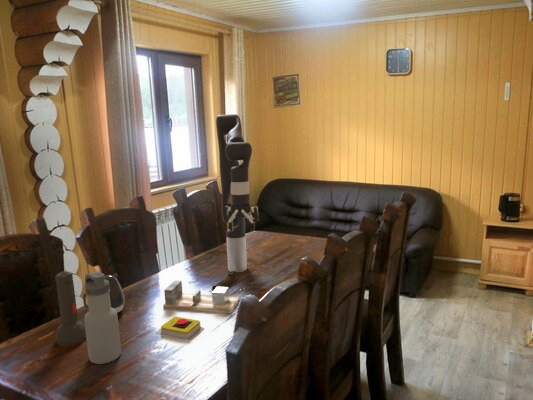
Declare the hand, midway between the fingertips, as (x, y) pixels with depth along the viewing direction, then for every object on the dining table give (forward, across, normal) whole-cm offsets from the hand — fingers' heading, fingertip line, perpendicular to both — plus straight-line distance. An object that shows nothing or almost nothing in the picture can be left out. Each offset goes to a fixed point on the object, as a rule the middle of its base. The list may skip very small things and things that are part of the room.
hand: (242, 231), depth 178 cm
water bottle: (+28, +32, +53) cm, 68 cm away
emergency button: (+29, +15, +33) cm, 46 cm away
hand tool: (+29, +12, -9) cm, 32 cm away
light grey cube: (+26, +7, +11) cm, 29 cm away
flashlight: (+28, +50, +45) cm, 73 cm away
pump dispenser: (+28, +48, +23) cm, 60 cm away
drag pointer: (+26, +17, +13) cm, 34 cm away
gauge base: (+28, +15, +11) cm, 34 cm away
